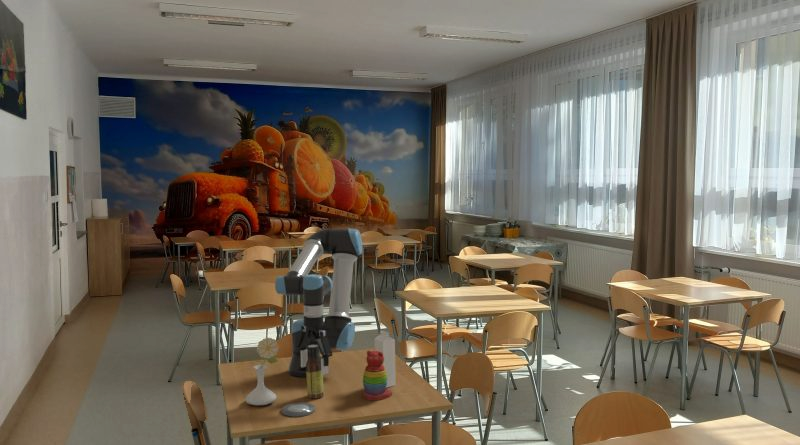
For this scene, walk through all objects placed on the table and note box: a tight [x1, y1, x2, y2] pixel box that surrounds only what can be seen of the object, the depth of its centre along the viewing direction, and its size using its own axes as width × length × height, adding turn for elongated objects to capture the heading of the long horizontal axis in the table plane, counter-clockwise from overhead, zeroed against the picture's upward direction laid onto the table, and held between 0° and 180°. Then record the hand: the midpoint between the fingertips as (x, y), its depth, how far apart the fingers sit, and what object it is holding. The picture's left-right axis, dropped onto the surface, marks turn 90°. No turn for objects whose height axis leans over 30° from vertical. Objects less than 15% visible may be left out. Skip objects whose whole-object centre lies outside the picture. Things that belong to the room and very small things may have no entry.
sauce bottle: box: [306, 345, 324, 399], centre depth 245 cm, size 7×6×20 cm
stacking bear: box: [362, 350, 393, 401], centre depth 245 cm, size 11×10×18 cm
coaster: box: [281, 402, 316, 418], centre depth 231 cm, size 12×12×1 cm
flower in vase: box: [245, 336, 280, 406], centre depth 239 cm, size 13×11×25 cm
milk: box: [374, 330, 396, 389], centre depth 257 cm, size 6×6×22 cm
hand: (314, 370), depth 245 cm, fingers open, 13 cm apart
